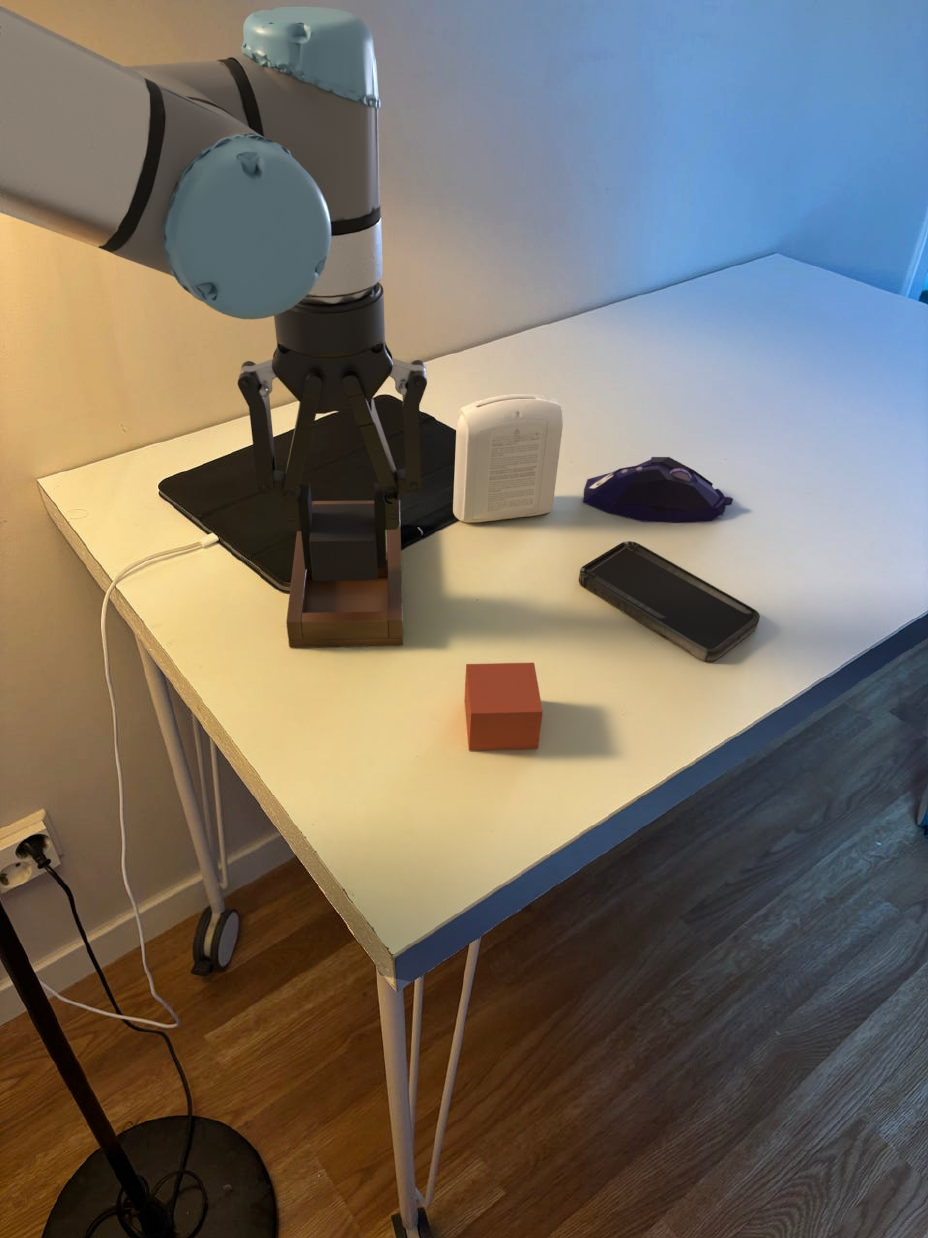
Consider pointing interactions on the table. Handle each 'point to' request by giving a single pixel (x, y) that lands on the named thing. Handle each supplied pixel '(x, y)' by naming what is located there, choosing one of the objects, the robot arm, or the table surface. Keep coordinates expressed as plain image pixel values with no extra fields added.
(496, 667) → the pad
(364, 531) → the black block
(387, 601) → the frame
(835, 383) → the table surface
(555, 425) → the photo printer
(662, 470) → the computer mouse
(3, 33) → the robot arm
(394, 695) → the table surface
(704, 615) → the phone
